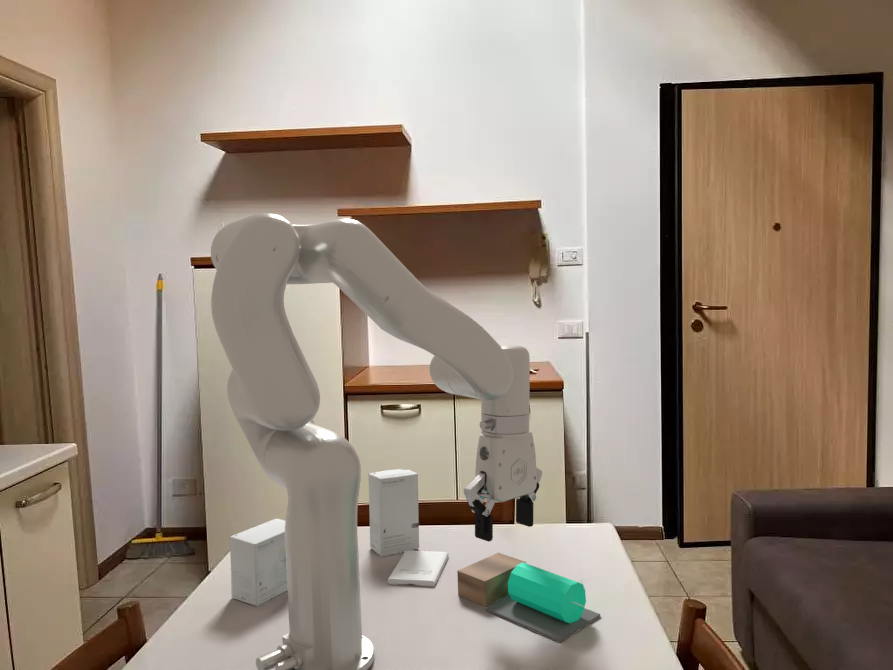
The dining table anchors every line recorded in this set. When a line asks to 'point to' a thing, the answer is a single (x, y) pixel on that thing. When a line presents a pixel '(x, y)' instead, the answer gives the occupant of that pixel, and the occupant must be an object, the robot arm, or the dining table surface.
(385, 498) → the skincare box
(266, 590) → the skincare box
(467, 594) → the step block
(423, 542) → the dining table surface
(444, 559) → the external hard drive
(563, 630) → the mat
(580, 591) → the candle
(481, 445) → the robot arm
